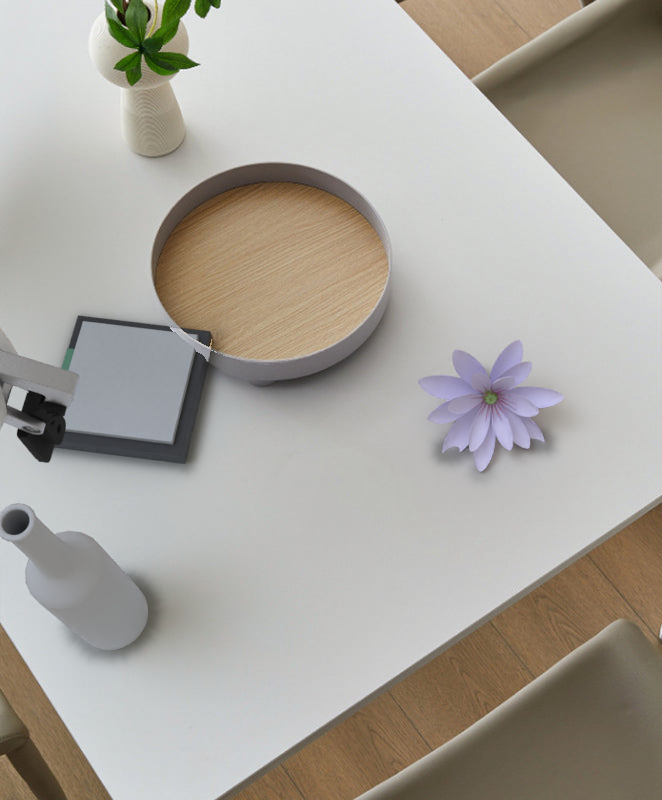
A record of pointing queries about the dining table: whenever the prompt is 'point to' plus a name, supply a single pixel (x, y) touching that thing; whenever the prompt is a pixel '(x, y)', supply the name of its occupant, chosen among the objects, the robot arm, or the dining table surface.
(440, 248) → the dining table surface
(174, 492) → the dining table surface
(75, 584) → the bottle
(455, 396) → the water lily
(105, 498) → the dining table surface
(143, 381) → the scale
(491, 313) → the dining table surface
